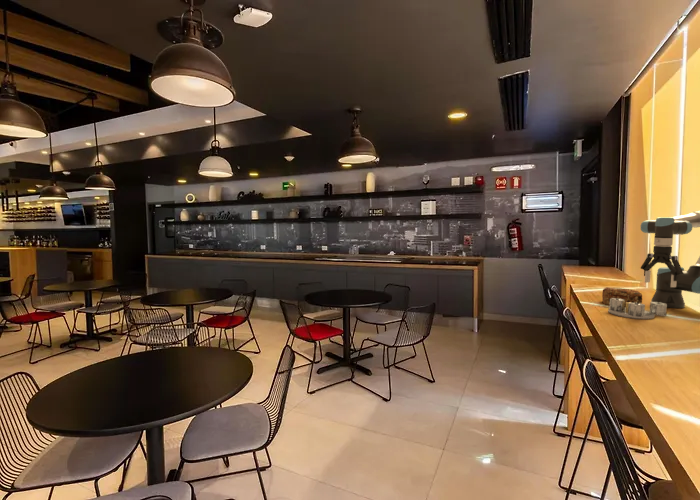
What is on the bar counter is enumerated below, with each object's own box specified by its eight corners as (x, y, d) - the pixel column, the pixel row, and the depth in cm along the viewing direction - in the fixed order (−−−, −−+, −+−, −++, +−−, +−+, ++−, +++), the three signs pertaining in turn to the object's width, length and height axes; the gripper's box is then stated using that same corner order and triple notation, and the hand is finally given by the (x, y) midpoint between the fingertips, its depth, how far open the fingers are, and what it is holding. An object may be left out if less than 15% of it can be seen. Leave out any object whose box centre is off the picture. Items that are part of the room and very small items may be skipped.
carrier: (628, 308, 209) (629, 295, 208) (664, 318, 189) (665, 303, 188) (599, 310, 205) (600, 297, 204) (633, 320, 185) (634, 305, 184)
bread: (603, 304, 219) (604, 288, 218) (601, 301, 228) (602, 285, 227) (642, 308, 209) (643, 291, 208) (638, 304, 218) (640, 288, 217)
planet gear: (656, 312, 201) (656, 301, 200) (669, 315, 194) (669, 304, 194) (646, 312, 199) (647, 302, 199) (659, 316, 193) (659, 305, 192)
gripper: (634, 244, 205) (631, 280, 207) (682, 248, 180) (679, 289, 182) (645, 243, 206) (642, 280, 208) (694, 247, 182) (691, 288, 184)
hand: (659, 284), depth 195 cm, fingers open, 13 cm apart
